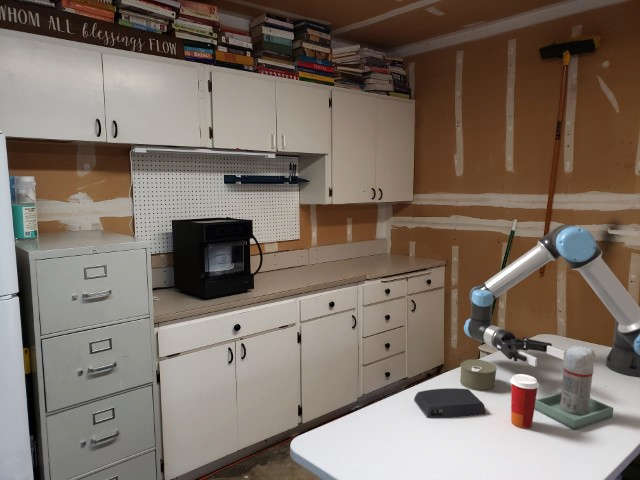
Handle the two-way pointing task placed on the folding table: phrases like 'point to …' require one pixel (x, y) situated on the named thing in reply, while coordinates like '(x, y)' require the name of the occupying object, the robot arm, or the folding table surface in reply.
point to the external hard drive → (449, 403)
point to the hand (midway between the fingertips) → (550, 359)
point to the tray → (555, 412)
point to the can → (478, 375)
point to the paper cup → (523, 400)
